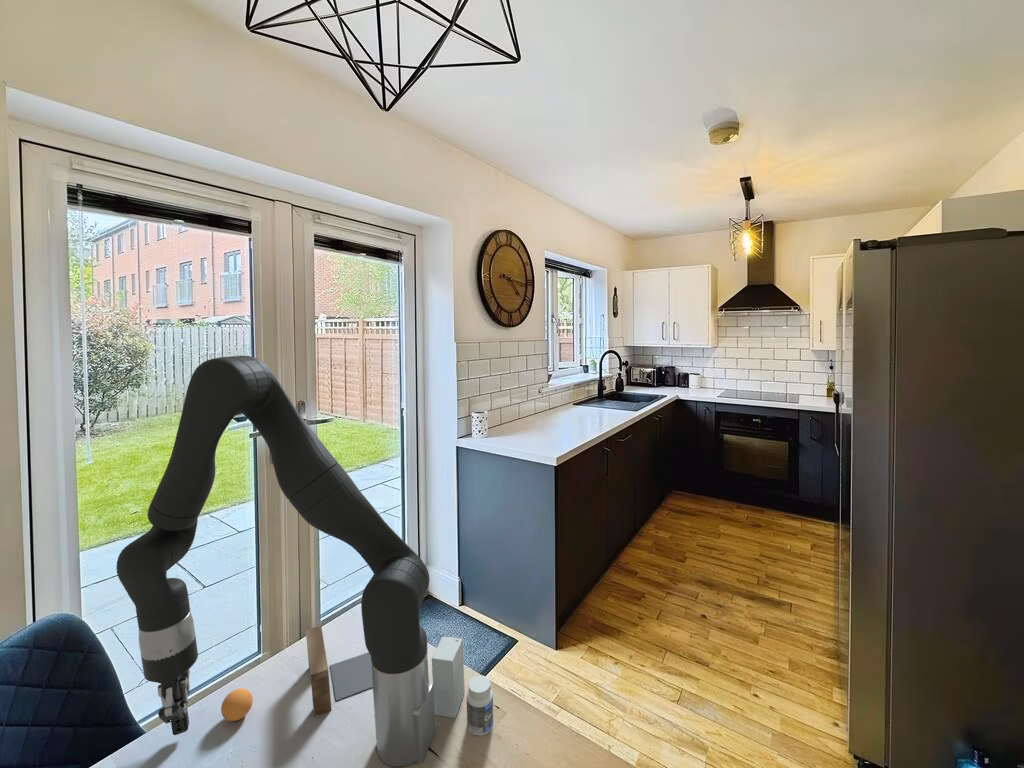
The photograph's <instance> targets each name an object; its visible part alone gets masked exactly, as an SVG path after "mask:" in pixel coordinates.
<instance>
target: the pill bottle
mask: <svg viewBox="0 0 1024 768" xmlns="http://www.w3.org/2000/svg"><path fill="white" fill-rule="evenodd" d="M493 694H494V693H493V690H492V685H491V680H490V678H488V677H487V676H485V675H476V676H473V677H472V678H471V679H470V680H469V682H468V691H467V692H466V725H467V729H468V731H469V732H470V733H471V734H473V735H475V736H485V735H486V734H488V733H490V732H491V730H492V728H493V726H494V695H493Z"/></svg>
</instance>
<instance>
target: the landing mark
mask: <svg viewBox="0 0 1024 768" xmlns="http://www.w3.org/2000/svg"><path fill="white" fill-rule="evenodd" d="M330 673H331V678H332V683H333V685H332V686H333V690H334V691H333V692H334V697H335V701H336V702H338V701H340V700H343V699H346V698H348V697H351V696H353V695H356V694H359V693H362V692H364V691H367V690H371V689H373V681H372V665H371V655H370V653H369V652H368V651H367V652H365V653H362V654H359V655H356V656H354V657H351V658H348V659H345V660H341V661H339V662H336V663H332V664H330Z"/></svg>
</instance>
